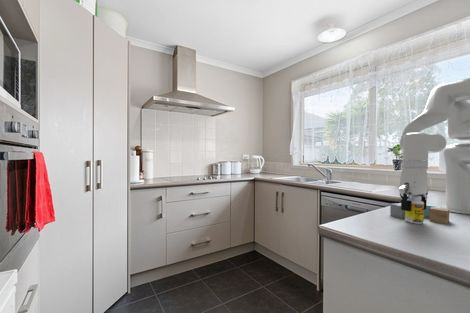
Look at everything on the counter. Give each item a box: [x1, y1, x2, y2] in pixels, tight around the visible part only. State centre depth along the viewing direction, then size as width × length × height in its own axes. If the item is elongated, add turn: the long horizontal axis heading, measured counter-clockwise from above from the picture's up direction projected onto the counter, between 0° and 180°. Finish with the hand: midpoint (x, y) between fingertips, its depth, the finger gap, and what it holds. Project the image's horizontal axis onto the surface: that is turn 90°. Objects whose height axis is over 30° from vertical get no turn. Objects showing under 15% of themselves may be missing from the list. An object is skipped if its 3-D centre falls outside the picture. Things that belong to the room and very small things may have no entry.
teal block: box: [424, 203, 437, 219], centre depth 93 cm, size 5×5×5 cm
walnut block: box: [429, 206, 450, 225], centre depth 86 cm, size 5×5×5 cm
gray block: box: [389, 202, 405, 219], centre depth 92 cm, size 5×5×5 cm
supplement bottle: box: [404, 195, 425, 225], centre depth 84 cm, size 6×6×10 cm
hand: (413, 209), depth 84 cm, fingers open, 9 cm apart
